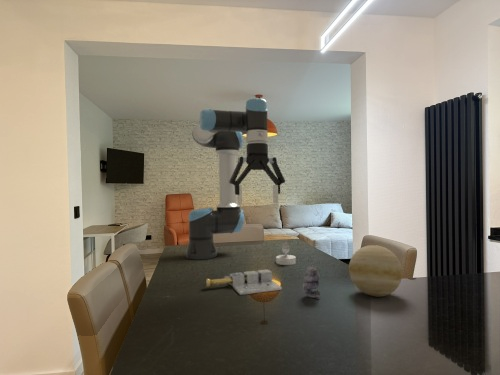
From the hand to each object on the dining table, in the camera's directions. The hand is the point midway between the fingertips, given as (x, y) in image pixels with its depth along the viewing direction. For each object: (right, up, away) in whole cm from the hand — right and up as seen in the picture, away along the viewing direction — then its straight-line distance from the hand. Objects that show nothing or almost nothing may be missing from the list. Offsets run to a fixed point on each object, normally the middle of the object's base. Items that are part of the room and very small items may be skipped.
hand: (258, 203), depth 113 cm
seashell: (+15, -27, -18) cm, 36 cm away
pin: (-9, -27, -5) cm, 29 cm away
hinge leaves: (-2, -27, -3) cm, 28 cm away
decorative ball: (+35, -27, -16) cm, 47 cm away
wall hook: (+13, -27, +27) cm, 40 cm away
